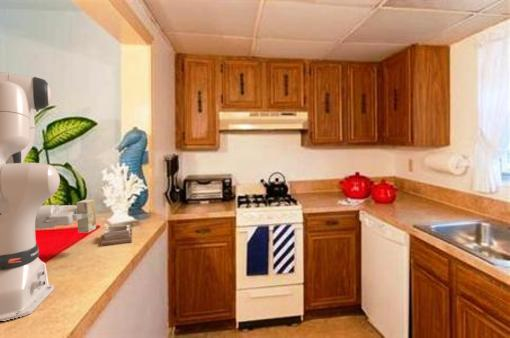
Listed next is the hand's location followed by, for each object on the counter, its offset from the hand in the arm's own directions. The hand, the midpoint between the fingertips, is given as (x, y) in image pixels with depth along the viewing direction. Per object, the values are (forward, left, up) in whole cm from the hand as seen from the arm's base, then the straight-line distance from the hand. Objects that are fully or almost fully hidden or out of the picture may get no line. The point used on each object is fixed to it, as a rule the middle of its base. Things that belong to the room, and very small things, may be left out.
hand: (88, 213), depth 126 cm
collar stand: (+14, -9, -16) cm, 23 cm away
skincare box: (0, +1, -7) cm, 7 cm away
